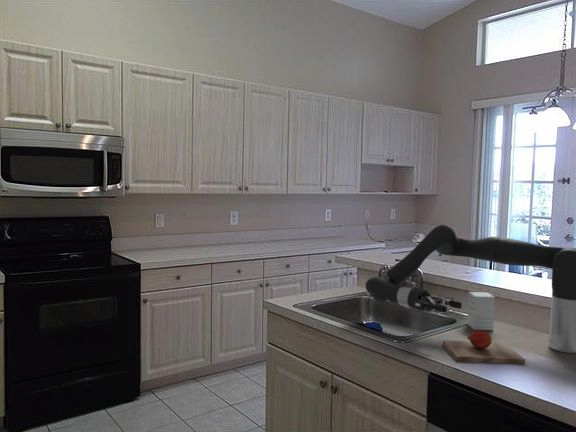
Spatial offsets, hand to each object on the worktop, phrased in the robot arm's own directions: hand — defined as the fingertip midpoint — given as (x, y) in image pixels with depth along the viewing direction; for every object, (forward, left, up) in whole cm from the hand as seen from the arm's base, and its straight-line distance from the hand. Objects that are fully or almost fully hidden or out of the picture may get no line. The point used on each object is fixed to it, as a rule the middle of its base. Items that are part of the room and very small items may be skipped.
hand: (453, 307), depth 157 cm
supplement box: (-17, -22, -13) cm, 30 cm away
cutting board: (-7, +8, -13) cm, 16 cm away
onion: (-9, +10, -8) cm, 16 cm away
